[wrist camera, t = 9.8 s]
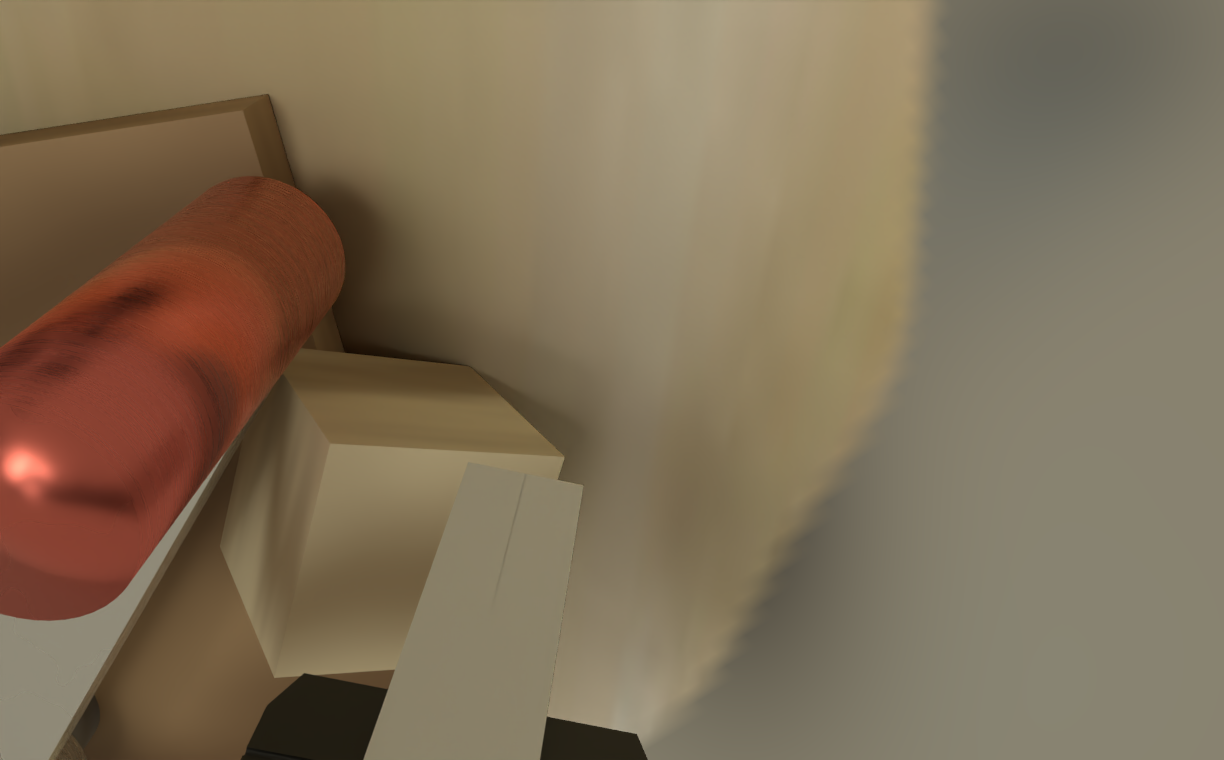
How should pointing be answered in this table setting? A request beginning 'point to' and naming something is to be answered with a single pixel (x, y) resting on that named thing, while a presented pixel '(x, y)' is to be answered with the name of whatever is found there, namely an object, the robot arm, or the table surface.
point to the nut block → (358, 500)
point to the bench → (198, 575)
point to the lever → (137, 431)
